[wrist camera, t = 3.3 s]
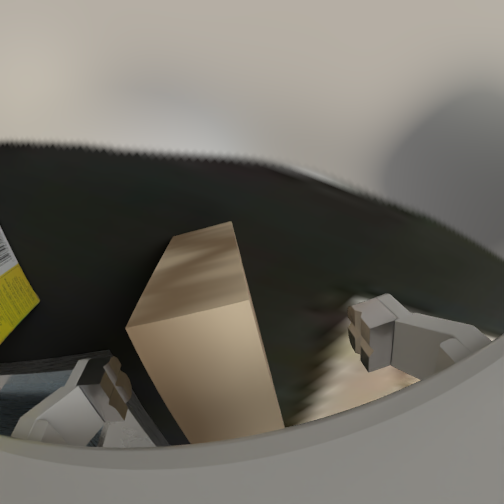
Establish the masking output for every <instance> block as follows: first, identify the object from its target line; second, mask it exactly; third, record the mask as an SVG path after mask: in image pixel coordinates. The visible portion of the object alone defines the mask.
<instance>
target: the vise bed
mask: <svg viewBox="0 0 504 504" xmlns="http://www.w3.org/2000/svg"><path fill="white" fill-rule="evenodd" d="M109 356H113V355H112V353H111V352H110V350H103V351H97V352H91V353H84V354H77V355H70V356H63V357H56V358H48V359H39V360H31V361H21V362H11V363H0V435H5V436H10V437H11V435H12V433H13V431H14V429H15V427H16V425H17V423H18V421H19V419H20V417H22V416H23V415H24V414H26V413H27V412H28V411H30V410H31V409H32V408H34V407H35V406H36V405H37V404H39V403H40V402H41V401H43V400H44V399H45V398H47V397H48V396H49V395H51V394H52V393H53V392H55V391H56V390H57V389H59V388H60V387H64V386H65V384H66V382H67V380H68V379H69V377H70V375H71V373H72V371H73V369H74V368H75V366H76V364H77V362H78V361H79V360H81V359H88V358H99V357H109ZM126 405H127V407H128V410H127V414H126V418H125V421H119V422H104V423H105V424H104V425H103V426H102V427H101V429H100V430H99V431H98V432H97V433H96V434H95V436H94V437H93V438H92V439H91V440H90V442H89V443H88V444H87V445H86V447H111V448H136V447H162V446H170V444H169V443H168V442H167V440H166V439H165V438H164V436H163V435H162V434H161V432H160V431H159V429H158V428H157V426H156V425H155V424H154V422H153V421H152V419H151V418H150V416H149V415H148V413H147V412H146V410H145V409H144V407H143V406H142V404H141V403H140V401H139V400H138V398H137V396H136V395H135V393H134V392H133V390H132V395H131V399H130V400H129V401H128V402H127V403H126Z"/></svg>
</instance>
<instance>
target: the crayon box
mask: <svg viewBox="0 0 504 504" xmlns="http://www.w3.org/2000/svg"><path fill="white" fill-rule="evenodd" d="M39 302H40V299H39V297H38V296H37V294H36V293H35V292H34V291H33V289H32V287H31V286H30V284H29V282H28V280H27V278H26V277H25V275H24V273H23V271H22V269H21V267H20V265H19V263H18V261H17V260H16V257H15V256H14V253H13V251H12V249H11V247H10V245H9V243H8V241H7V239H6V237H5V235H4V233H3V231H2V228H1V226H0V344H1V343H2V342H3V341H4V340H5V339H6V338H7V336H8V335H9V334H10V333H11V332H12V331H13V330H14V329H15V328H16V327H17V325H18V324H19V323H20V322H21V321H22V320H23V319H24V318H25V317H26V316H27V315H28V314H29V313H30V312H31V311H32V310H33V309H34V308H35V307H36V306H37V305H38V304H39Z"/></svg>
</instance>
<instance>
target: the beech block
mask: <svg viewBox="0 0 504 504" xmlns="http://www.w3.org/2000/svg"><path fill="white" fill-rule="evenodd" d="M125 329H126V331H127V333H128V335H129V337H130V339H131V341H132V343H133V345H134V347H135V349H136V351H137V353H138V355H139V357H140V359H141V361H142V363H143V365H144V367H145V369H146V370H147V372H148V374H149V376H150V378H151V380H152V381H153V383H154V385H155V387H156V389H157V390H158V392H159V394H160V395H161V397H162V399H163V401H164V402H165V404H166V406H167V407H168V409H169V411H170V412H171V414H172V415H173V417H174V419H175V420H176V422H177V423H178V425H179V427H180V428H181V430H182V431H183V433H184V434H185V436H186V437H187V439H188V440H189V442H190V443H191V444H197V443H205V442H213V441H220V440H227V439H233V438H239V437H245V436H250V435H255V434H260V433H265V432H270V431H274V430H279V429H283V428H285V427H284V423H283V419H282V415H281V412H280V408H279V404H278V400H277V396H276V392H275V388H274V385H273V381H272V377H271V373H270V369H269V365H268V361H267V357H266V353H265V349H264V346H263V342H262V338H261V334H260V330H259V326H258V322H257V318H256V314H255V311H254V307H253V303H252V299H251V295H250V292H249V288H248V284H247V280H246V276H245V272H244V268H243V265H242V261H241V257H240V253H239V249H238V245H237V241H236V237H235V233H234V230H233V226H232V222H231V221H230V222H227V223H223V224H219V225H215V226H211V227H207V228H203V229H200V230H196V231H192V232H188V233H185V234H181V235H177V236H174V237H173V238H172V239H171V241H170V243H169V245H168V247H167V248H166V250H165V252H164V254H163V256H162V257H161V259H160V261H159V263H158V265H157V267H156V269H155V270H154V272H153V274H152V276H151V278H150V280H149V282H148V284H147V286H146V288H145V290H144V291H143V293H142V295H141V297H140V299H139V301H138V303H137V305H136V307H135V309H134V311H133V313H132V315H131V317H130V319H129V321H128V324H127V326H126V328H125Z"/></svg>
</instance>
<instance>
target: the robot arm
mask: <svg viewBox="0 0 504 504" xmlns="http://www.w3.org/2000/svg"><path fill="white" fill-rule="evenodd" d="M348 318H349V320H350V321H351V324H350V326H349V327H348V333H349V339H350V343H351V345H352V348H353V349H354V351H355V353H358V354H360V355H361V362H362V363H363V365H364V366H365V368H366V369H367V371H368V372H371V371H374V370H377V369H380V368H383V367H386V366H389V365H391V366H393V367H395V368H397V369H399V370H401V371H403V372H405V373H407V374H409V375H412V376H414V377H416V378H418V379H420V380H421V381H419V382H416V383H414V384H412V385H410V386H408V387H405V388H403V389H401V390H399V391H396V392H394V393H392V394H389V395H387V396H384V397H382V398H379V399H377V400H374V401H372V402H369V403H366V404H363V405H361V406H358V407H355V408H352V409H349V410H346V411H343V412H340V413H337V414H334V415H331V416H327V417H324V418H321V419H317V420H314V421H310V422H307V423H303V424H299V425H295V426H291V427H287V428H283V429H279V430H274V431H270V432H265V433H260V434H255V435H250V436H245V437H239V438H233V439H227V440H220V441H213V442H205V443H197V444H187V445H176V446H162V447H136V448H111V447H86V445H87V444H88V443H89V442H90V440H91V439H92V438H93V437H94V436H95V434H96V433H97V432H98V431H99V430H100V429H101V427H102V426H103V425H104V424H105V423H104V422H119V421H125V418H126V414H127V410H128V407H127V405H126V403H127V402H128V401H129V400H130V399H131V395H132V387H131V383H130V380H129V378H128V376H127V374H125V373H124V372H122V371H121V370H120V369H121V364H120V362H119V360H118V358H116V357H115V356H109V357H99V358H88V359H81V360H79V361H78V362H77V364H76V366H75V368H74V369H73V371H72V373H71V375H70V377H69V379H68V380H67V382H66V384H65V386H64V387H60V388H59V389H57V390H56V391H55V392H53V393H52V394H51V395H49V396H48V397H47V398H45V399H44V400H43V401H41V402H40V403H39V404H37V405H36V406H35V407H34V408H32V409H31V410H30V411H28V412H27V413H26V414H24V415H23V416H22V417H20V419H19V421H18V423H17V425H16V427H15V429H14V431H13V433H12V435H11V437H10V436H5V435H0V504H504V334H503V335H501V336H500V337H498V338H496V339H495V340H493V341H491V340H490V339H489V338H488V337H486V336H485V335H484V334H483V333H482V332H480V331H479V330H478V329H477V328H476V327H474V326H473V325H468V324H463V323H459V322H454V321H450V320H445V319H441V318H436V317H432V316H427V315H423V314H419V313H413V314H411V313H410V312H409V311H408V310H407V309H406V308H405V307H403V306H402V305H401V304H400V303H399V302H398V301H397V300H396V299H395V298H393V297H392V296H391V295H390V294H387V293H386V294H383V295H381V296H378V297H375V298H373V299H370V300H367V301H364V302H361V303H358V304H355V305H351V306H348Z"/></svg>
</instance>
